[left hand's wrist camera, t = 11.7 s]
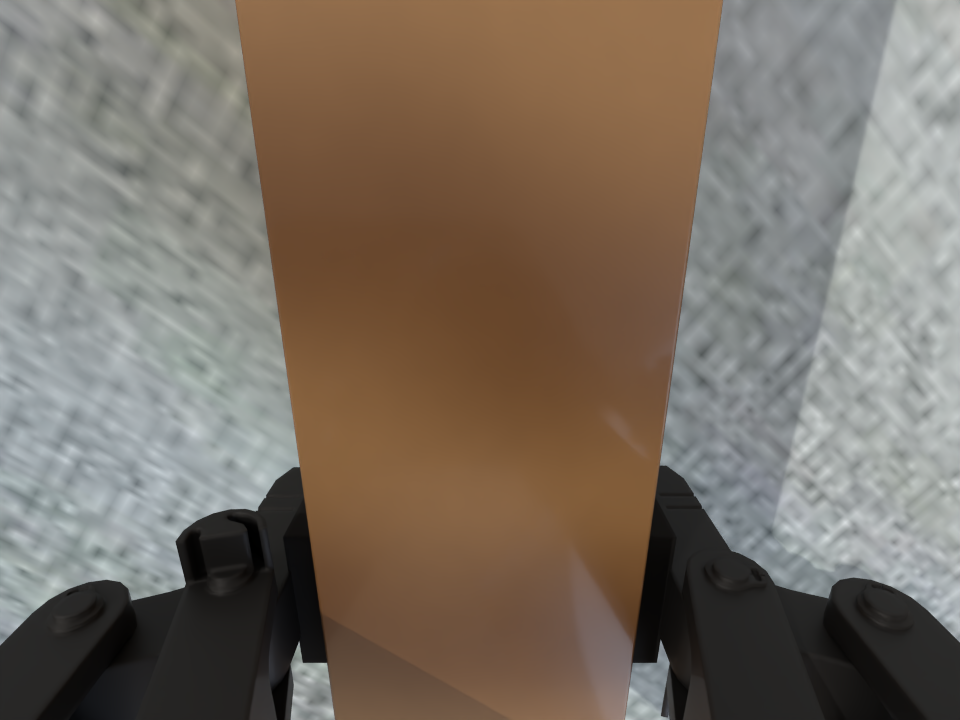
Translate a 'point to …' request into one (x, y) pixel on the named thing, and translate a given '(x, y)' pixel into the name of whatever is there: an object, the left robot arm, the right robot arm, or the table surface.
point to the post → (479, 329)
